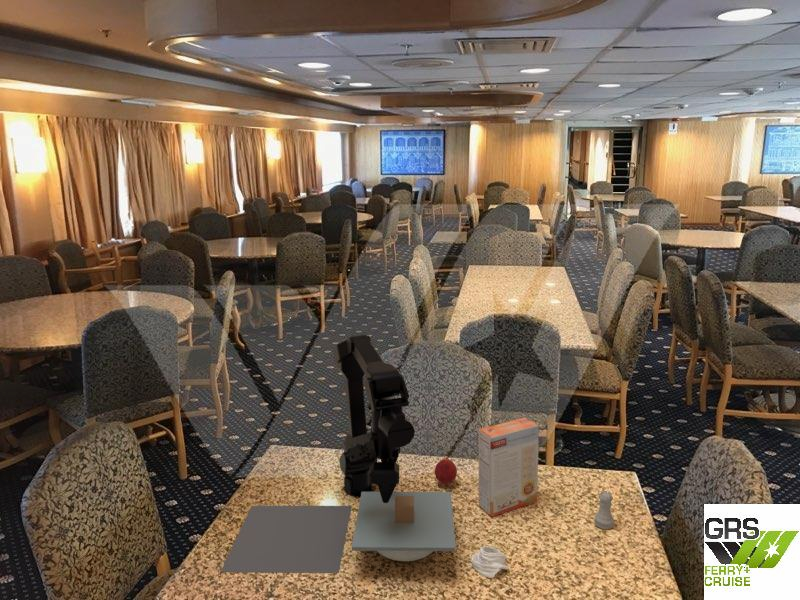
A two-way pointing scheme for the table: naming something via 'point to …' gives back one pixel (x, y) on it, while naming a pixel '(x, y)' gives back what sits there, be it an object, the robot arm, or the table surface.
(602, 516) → the grey chess piece
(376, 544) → the lid
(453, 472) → the onion
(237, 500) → the table surface
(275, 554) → the mat
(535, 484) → the cracker box
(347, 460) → the robot arm
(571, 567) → the table surface
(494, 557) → the whipped cream
